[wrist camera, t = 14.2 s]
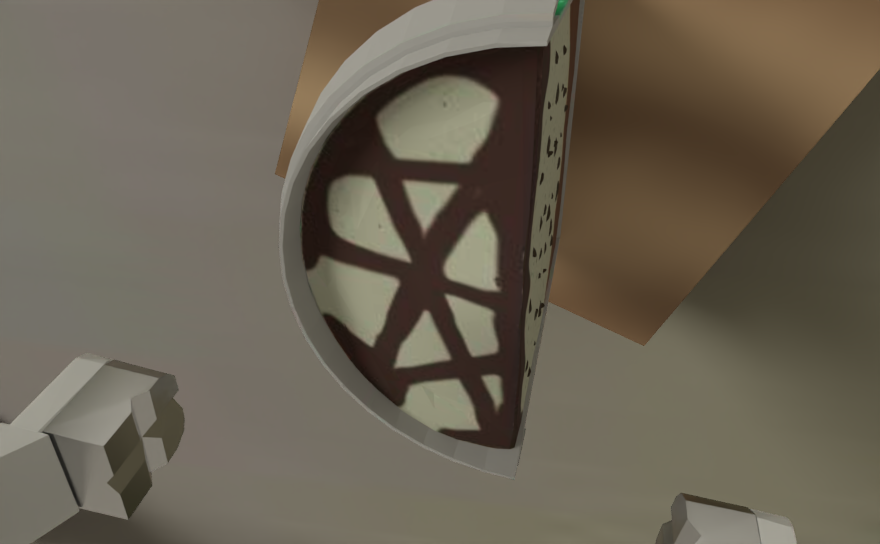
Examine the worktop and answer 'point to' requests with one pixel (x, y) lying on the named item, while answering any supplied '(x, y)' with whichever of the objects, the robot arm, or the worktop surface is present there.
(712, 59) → the walnut block
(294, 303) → the food container
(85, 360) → the robot arm
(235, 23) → the worktop surface
